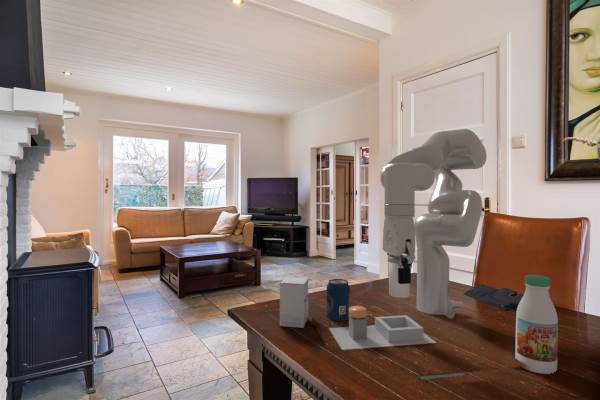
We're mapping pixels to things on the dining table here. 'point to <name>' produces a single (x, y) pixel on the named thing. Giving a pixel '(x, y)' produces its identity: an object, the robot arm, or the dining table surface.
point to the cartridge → (396, 280)
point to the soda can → (338, 299)
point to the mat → (441, 375)
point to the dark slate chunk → (496, 297)
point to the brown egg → (357, 312)
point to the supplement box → (294, 302)
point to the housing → (380, 333)
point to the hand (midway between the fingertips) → (399, 279)
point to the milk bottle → (537, 327)
